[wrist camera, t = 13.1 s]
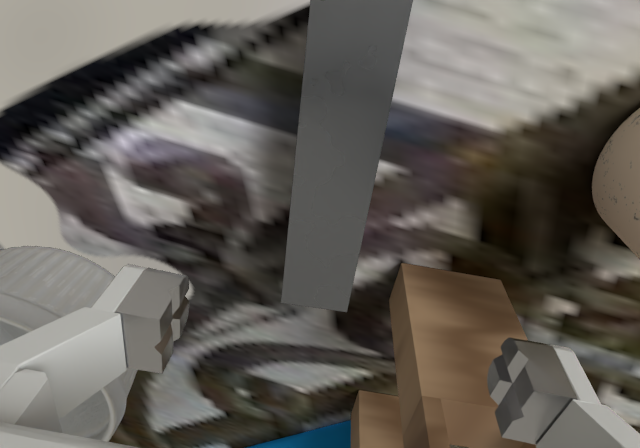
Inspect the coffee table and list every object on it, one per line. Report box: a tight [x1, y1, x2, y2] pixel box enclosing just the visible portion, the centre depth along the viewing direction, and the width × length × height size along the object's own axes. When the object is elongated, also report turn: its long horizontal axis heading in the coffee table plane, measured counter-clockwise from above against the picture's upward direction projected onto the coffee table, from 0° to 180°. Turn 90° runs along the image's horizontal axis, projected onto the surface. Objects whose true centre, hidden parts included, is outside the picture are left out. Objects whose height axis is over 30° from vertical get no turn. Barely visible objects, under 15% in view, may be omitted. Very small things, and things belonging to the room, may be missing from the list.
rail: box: [281, 0, 413, 312], centre depth 21 cm, size 4×16×4 cm, turn 173°
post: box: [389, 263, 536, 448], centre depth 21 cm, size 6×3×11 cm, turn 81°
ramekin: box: [0, 246, 137, 442], centre depth 26 cm, size 13×13×7 cm
